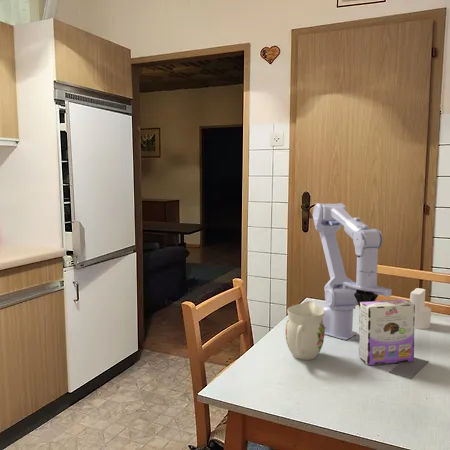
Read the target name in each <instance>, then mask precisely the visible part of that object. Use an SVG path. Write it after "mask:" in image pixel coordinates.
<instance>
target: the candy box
mask: <svg viewBox="0 0 450 450" xmlns="http://www.w3.org/2000/svg"><path fill="white" fill-rule="evenodd" d="M414 321H415V304H413V303H411V302H410V300H409V301H408V300H407V299H393V300H390V299H389V300H375V301H372V302H360V307H359V324H358V325H359V329H358V330H359V331H358V333H359V335H358V358H359V359H360V360H361V361H362V362H363V363H364V364H366V365H367V366H374V365H375V366H376V365H385V364H396V363H397V364H399V363H400V362H409V361H414V357H415V329H414Z"/></svg>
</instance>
